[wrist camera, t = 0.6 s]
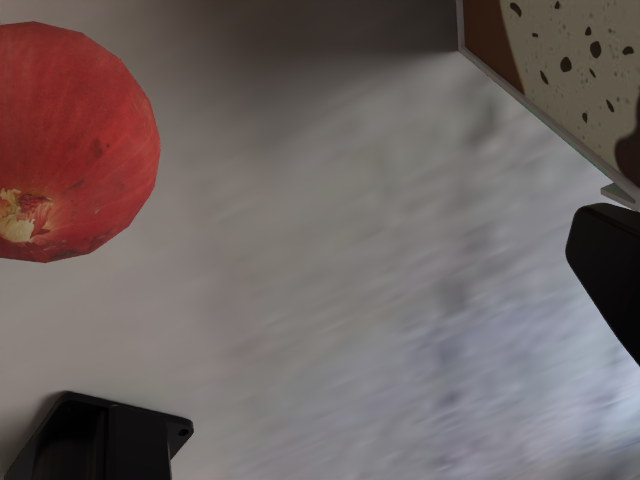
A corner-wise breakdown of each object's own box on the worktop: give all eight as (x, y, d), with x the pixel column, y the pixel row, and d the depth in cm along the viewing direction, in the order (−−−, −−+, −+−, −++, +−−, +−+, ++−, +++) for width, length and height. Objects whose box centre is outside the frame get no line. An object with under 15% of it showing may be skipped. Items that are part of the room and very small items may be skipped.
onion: (168, 160, 20) (193, 313, 14) (-11, 190, 19) (-73, 372, 12) (128, -18, 16) (137, 76, 10) (-95, 4, 15) (-241, 127, 9)
